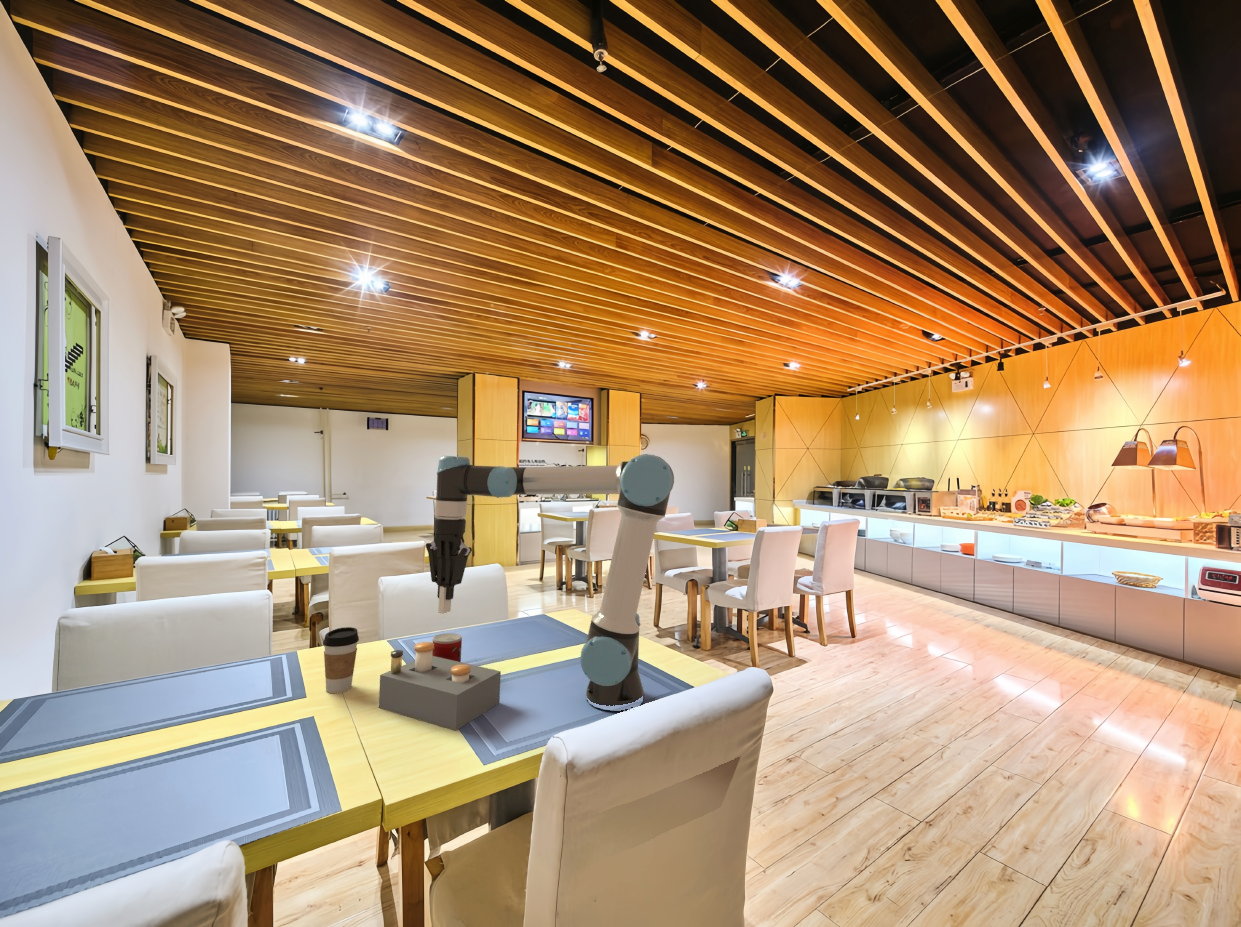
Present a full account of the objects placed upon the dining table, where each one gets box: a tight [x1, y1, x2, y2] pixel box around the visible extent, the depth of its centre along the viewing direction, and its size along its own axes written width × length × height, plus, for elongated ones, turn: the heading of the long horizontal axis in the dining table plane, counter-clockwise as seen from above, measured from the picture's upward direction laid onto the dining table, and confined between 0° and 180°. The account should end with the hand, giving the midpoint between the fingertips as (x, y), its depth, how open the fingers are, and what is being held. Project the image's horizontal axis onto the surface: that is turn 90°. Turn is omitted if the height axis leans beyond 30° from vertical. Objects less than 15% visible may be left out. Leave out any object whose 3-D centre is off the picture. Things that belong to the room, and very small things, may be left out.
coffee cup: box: [322, 626, 360, 694], centre depth 136 cm, size 8×8×15 cm
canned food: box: [432, 632, 463, 662], centre depth 147 cm, size 8×8×11 cm
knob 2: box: [451, 664, 471, 683], centre depth 126 cm, size 5×5×8 cm
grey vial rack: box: [378, 656, 502, 732], centre depth 128 cm, size 24×16×8 cm, turn 66°
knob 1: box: [414, 641, 434, 674], centre depth 131 cm, size 5×5×8 cm
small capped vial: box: [390, 649, 404, 674], centre depth 128 cm, size 3×3×5 cm
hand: (444, 611), depth 128 cm, fingers closed
